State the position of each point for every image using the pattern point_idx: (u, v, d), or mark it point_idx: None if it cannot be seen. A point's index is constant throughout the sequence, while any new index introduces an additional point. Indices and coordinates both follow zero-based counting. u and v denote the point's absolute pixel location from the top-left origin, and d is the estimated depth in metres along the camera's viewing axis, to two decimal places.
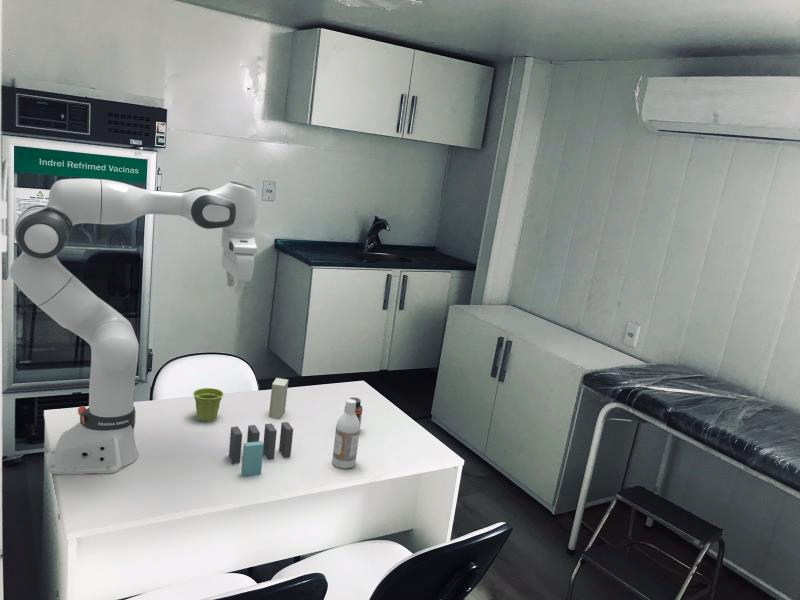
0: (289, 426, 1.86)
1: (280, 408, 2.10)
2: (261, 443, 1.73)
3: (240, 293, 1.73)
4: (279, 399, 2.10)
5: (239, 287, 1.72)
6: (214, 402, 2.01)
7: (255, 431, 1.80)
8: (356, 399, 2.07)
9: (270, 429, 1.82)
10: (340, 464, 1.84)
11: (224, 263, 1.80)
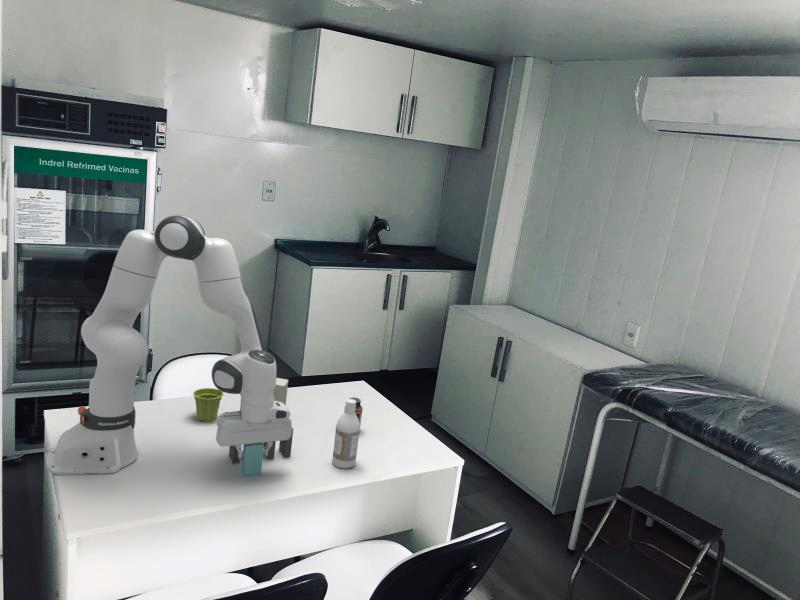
0: None
1: None
2: (261, 443, 1.73)
3: None
4: (279, 399, 2.10)
5: None
6: (214, 402, 2.01)
7: None
8: (356, 399, 2.07)
9: None
10: (340, 464, 1.84)
11: (233, 440, 1.68)
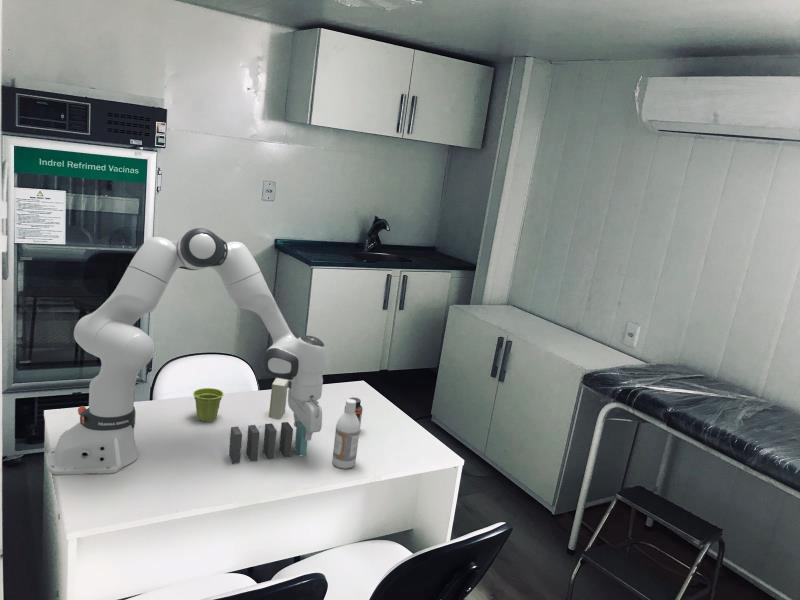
0: (289, 426, 1.86)
1: (280, 408, 2.10)
2: None
3: None
4: (279, 399, 2.10)
5: None
6: (214, 402, 2.01)
7: (255, 431, 1.80)
8: (356, 399, 2.07)
9: (270, 429, 1.82)
10: (340, 464, 1.84)
11: None
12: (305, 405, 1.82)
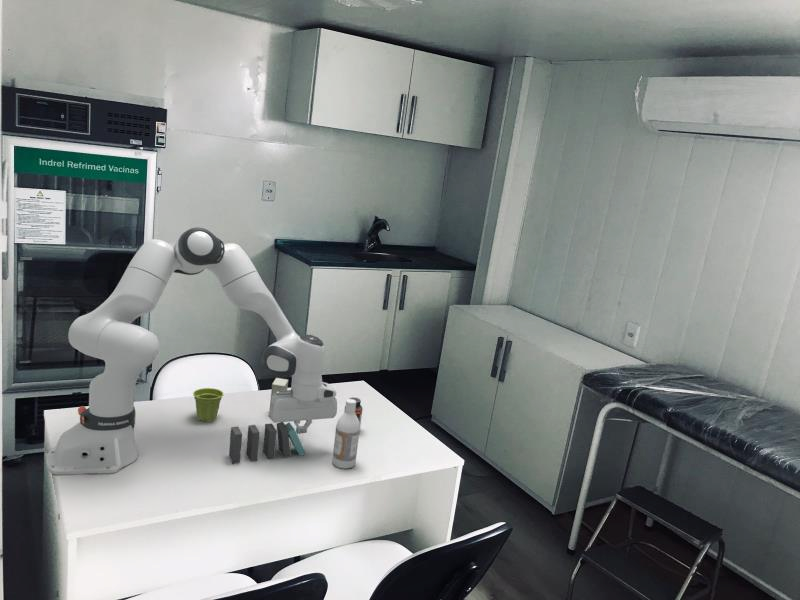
0: (284, 426, 1.85)
1: None
2: (287, 423, 1.89)
3: None
4: None
5: None
6: (214, 402, 2.01)
7: (255, 431, 1.80)
8: (356, 399, 2.07)
9: (270, 429, 1.82)
10: (340, 464, 1.84)
11: (285, 417, 1.83)
12: None
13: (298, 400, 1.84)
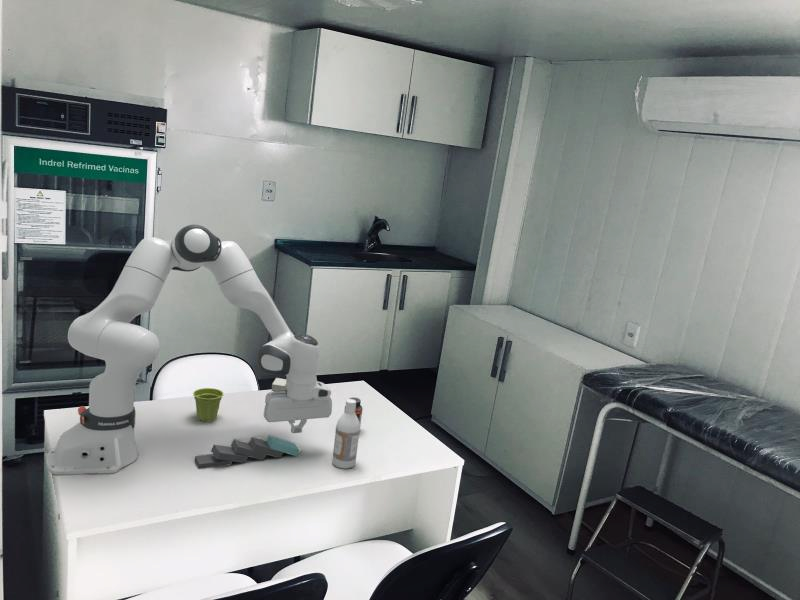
0: (254, 443, 1.82)
1: None
2: (268, 437, 1.87)
3: None
4: None
5: None
6: (214, 402, 2.01)
7: (217, 454, 1.75)
8: (356, 399, 2.07)
9: (235, 449, 1.78)
10: (340, 464, 1.84)
11: (280, 416, 1.82)
12: None
13: (293, 400, 1.83)
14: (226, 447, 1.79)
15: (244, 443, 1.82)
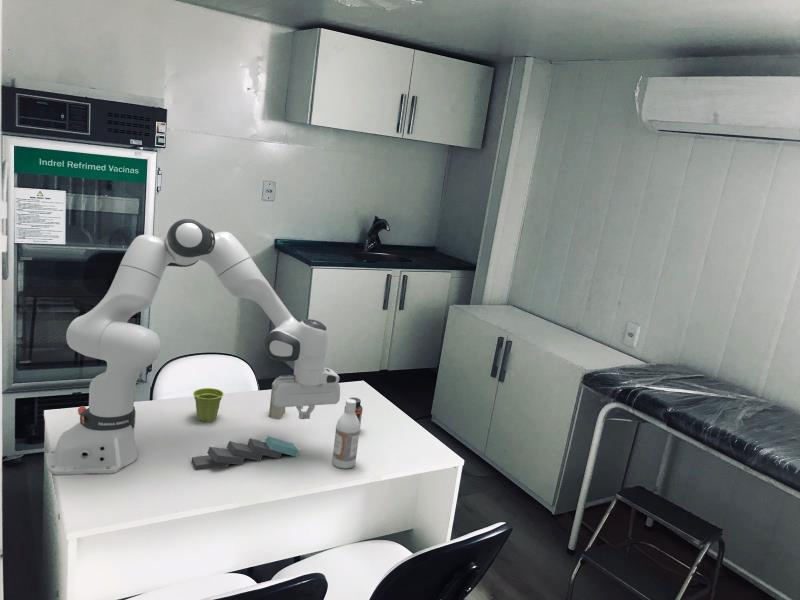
0: (252, 444, 1.81)
1: (280, 408, 2.10)
2: (267, 438, 1.86)
3: None
4: None
5: None
6: (214, 402, 2.01)
7: (215, 457, 1.72)
8: (356, 399, 2.07)
9: (232, 451, 1.77)
10: (340, 464, 1.84)
11: (288, 402, 1.82)
12: None
13: (301, 385, 1.82)
14: (222, 449, 1.77)
15: (240, 444, 1.81)
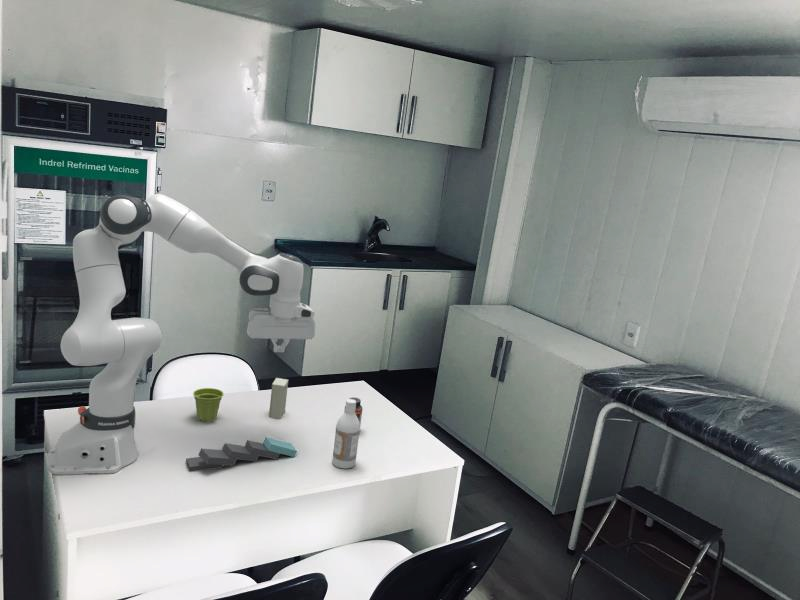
0: (249, 446, 1.81)
1: (280, 408, 2.10)
2: (265, 439, 1.86)
3: None
4: (279, 399, 2.10)
5: None
6: (214, 402, 2.01)
7: (206, 459, 1.70)
8: (356, 399, 2.07)
9: (228, 454, 1.76)
10: (340, 464, 1.84)
11: (262, 333, 1.85)
12: None
13: (275, 317, 1.85)
14: (213, 450, 1.75)
15: (236, 446, 1.80)
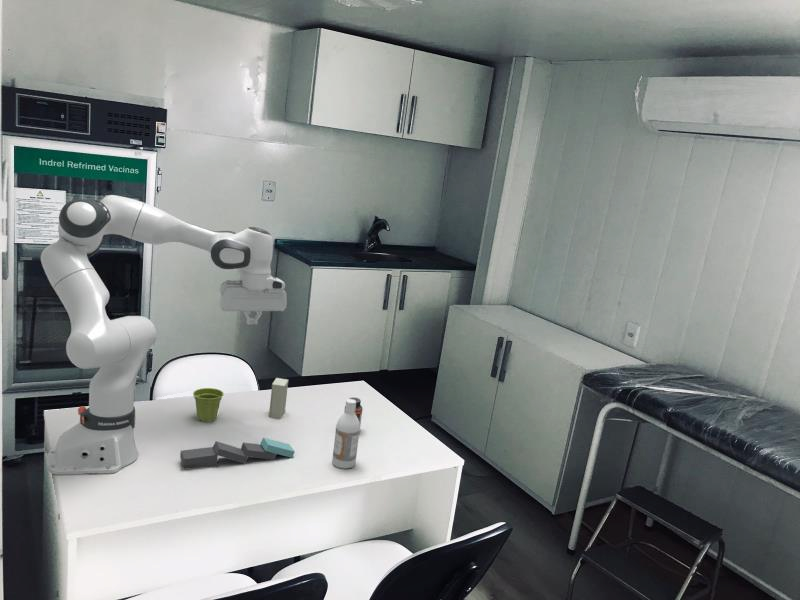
0: (245, 448, 1.80)
1: (280, 408, 2.10)
2: (262, 440, 1.85)
3: None
4: (279, 399, 2.10)
5: None
6: (214, 402, 2.01)
7: (183, 461, 1.72)
8: (356, 399, 2.07)
9: (215, 451, 1.76)
10: (340, 464, 1.84)
11: (235, 306, 1.89)
12: None
13: (247, 290, 1.90)
14: (195, 450, 1.76)
15: (226, 445, 1.80)
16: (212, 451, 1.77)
